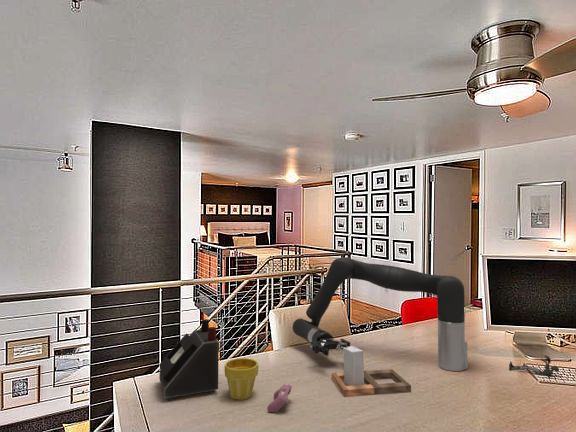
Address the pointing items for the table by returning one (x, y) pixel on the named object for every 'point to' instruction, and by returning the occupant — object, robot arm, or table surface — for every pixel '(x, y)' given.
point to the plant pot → (241, 377)
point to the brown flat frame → (373, 383)
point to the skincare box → (353, 366)
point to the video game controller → (280, 398)
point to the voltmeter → (191, 364)
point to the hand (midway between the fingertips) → (338, 351)
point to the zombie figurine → (545, 372)
